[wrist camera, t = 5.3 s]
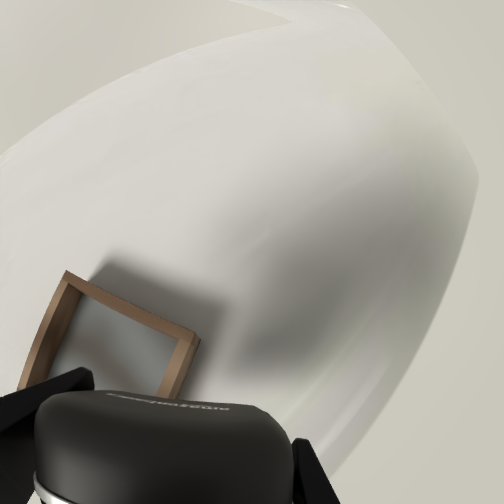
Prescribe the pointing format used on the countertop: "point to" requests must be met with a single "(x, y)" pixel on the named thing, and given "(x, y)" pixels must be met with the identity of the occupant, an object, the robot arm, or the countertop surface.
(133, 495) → the battery charger
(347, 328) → the countertop surface
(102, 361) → the wooden tray
